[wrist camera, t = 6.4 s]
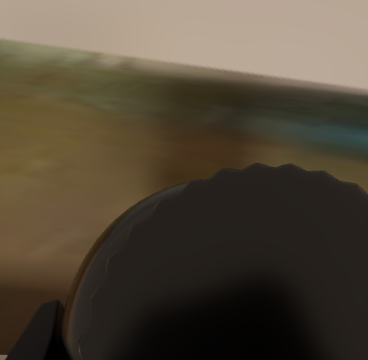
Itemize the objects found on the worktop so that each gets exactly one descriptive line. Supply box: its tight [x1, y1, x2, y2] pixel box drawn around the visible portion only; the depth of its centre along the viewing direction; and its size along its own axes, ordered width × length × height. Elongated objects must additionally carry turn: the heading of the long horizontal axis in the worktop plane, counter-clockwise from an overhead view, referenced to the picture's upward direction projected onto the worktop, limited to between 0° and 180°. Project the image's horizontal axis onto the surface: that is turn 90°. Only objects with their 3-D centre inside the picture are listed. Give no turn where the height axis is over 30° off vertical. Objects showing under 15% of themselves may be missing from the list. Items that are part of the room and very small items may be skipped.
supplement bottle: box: [59, 163, 368, 360], centre depth 9 cm, size 7×7×12 cm
